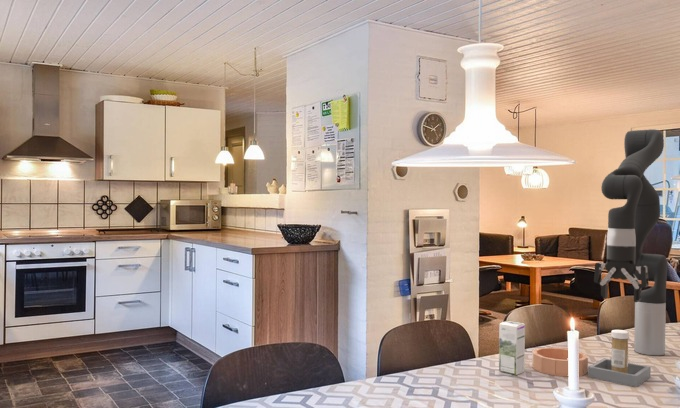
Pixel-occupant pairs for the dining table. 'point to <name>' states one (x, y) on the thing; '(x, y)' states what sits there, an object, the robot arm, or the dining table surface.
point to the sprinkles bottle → (619, 350)
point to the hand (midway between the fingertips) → (620, 300)
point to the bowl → (556, 361)
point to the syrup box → (512, 347)
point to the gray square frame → (619, 373)
